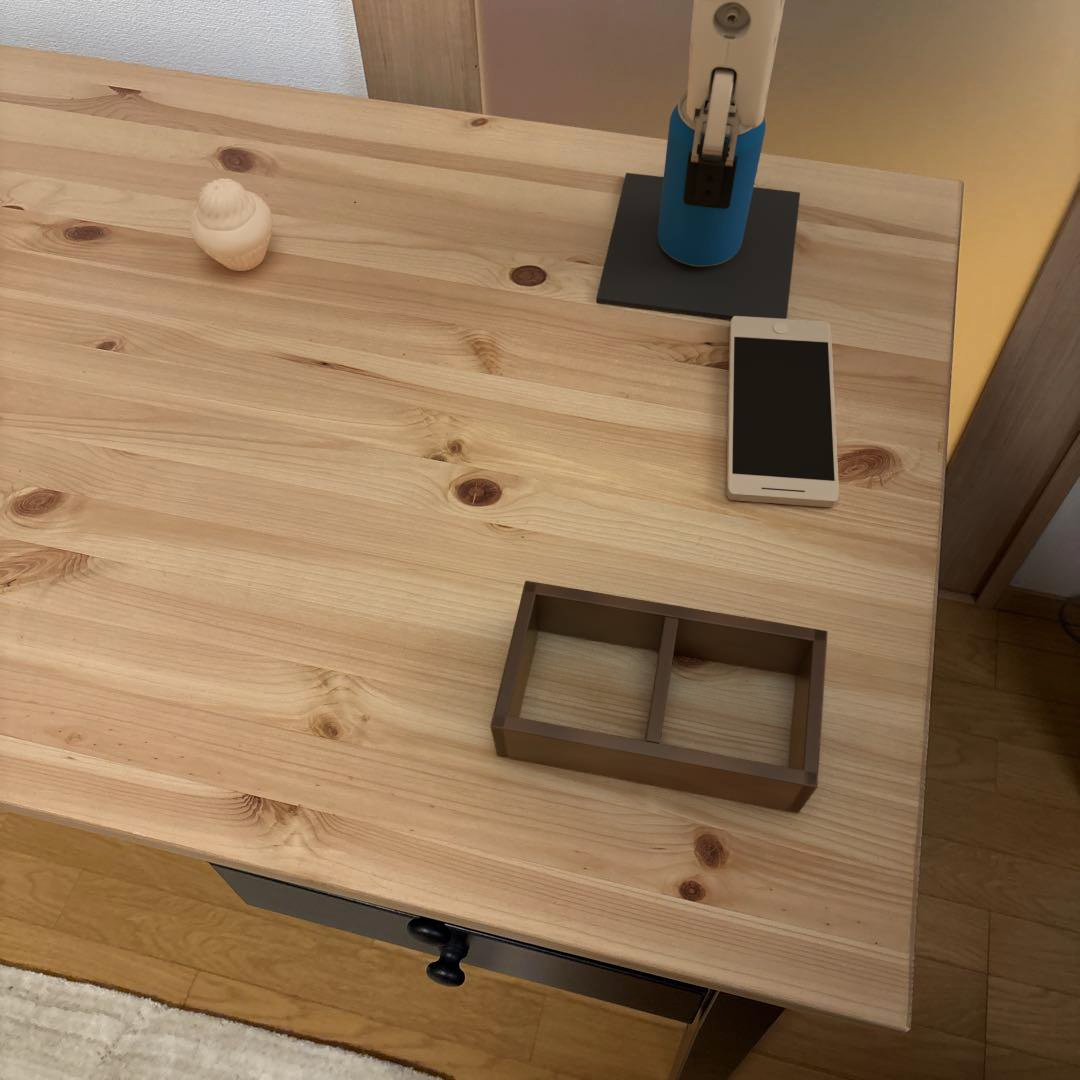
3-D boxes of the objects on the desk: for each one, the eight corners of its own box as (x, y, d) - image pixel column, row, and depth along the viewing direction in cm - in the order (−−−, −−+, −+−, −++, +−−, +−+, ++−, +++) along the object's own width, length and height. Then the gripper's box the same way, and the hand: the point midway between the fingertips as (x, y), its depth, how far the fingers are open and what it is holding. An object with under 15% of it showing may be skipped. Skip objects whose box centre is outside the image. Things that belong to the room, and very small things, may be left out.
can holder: (809, 665, 60) (828, 630, 56) (798, 813, 55) (817, 787, 51) (528, 617, 62) (525, 579, 58) (496, 756, 58) (490, 726, 53)
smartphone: (828, 329, 73) (831, 320, 72) (836, 508, 65) (840, 500, 64) (729, 323, 73) (730, 314, 73) (726, 500, 66) (727, 492, 65)
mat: (798, 197, 80) (800, 192, 80) (784, 327, 73) (786, 322, 73) (625, 177, 82) (626, 172, 81) (596, 303, 75) (596, 298, 75)
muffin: (219, 226, 80) (190, 153, 74) (292, 232, 80) (269, 159, 74) (194, 282, 77) (161, 210, 71) (270, 289, 77) (244, 218, 71)
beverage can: (728, 208, 79) (753, 70, 69) (751, 267, 76) (781, 131, 65) (648, 219, 78) (661, 82, 68) (667, 279, 75) (684, 144, 65)
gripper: (808, 1, 51) (753, 263, 66) (828, -171, 59) (775, 97, 75) (661, -12, 52) (641, 249, 67) (701, -179, 60) (675, 87, 76)
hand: (712, 167), depth 71 cm, fingers closed on beverage can, 6 cm apart
